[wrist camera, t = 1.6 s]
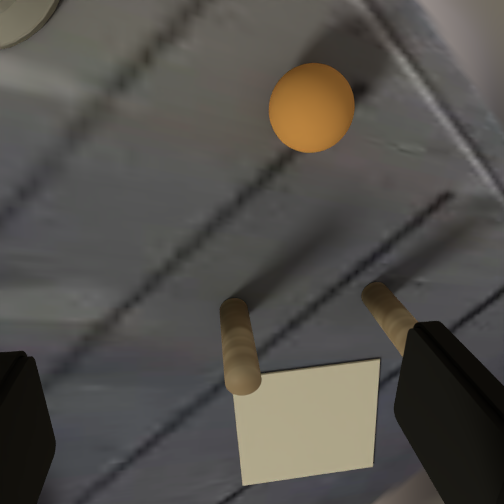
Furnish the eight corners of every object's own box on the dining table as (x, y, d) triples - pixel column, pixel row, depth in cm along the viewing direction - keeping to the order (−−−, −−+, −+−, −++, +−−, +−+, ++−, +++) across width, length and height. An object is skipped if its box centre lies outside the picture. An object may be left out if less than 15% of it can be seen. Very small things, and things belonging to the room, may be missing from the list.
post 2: (361, 283, 36) (410, 345, 27) (388, 280, 36) (444, 340, 28) (360, 307, 37) (407, 374, 28) (387, 304, 37) (440, 369, 28)
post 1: (218, 299, 35) (223, 368, 26) (246, 296, 35) (260, 363, 27) (221, 324, 36) (226, 397, 27) (248, 320, 36) (262, 393, 28)
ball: (261, 67, 28) (274, 64, 23) (340, 61, 29) (369, 58, 24) (265, 149, 30) (278, 163, 25) (338, 142, 31) (365, 155, 26)
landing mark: (231, 377, 38) (231, 378, 38) (379, 358, 39) (380, 359, 39) (242, 483, 43) (242, 485, 43) (372, 465, 44) (372, 466, 44)
